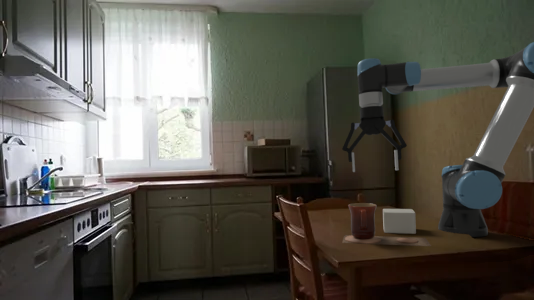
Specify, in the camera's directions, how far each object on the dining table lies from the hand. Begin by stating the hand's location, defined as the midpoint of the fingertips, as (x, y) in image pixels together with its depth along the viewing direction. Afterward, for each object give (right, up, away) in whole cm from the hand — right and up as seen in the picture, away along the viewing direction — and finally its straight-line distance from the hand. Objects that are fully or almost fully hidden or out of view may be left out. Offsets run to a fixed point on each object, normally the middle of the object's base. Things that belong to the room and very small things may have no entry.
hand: (375, 171), depth 122 cm
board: (+1, -22, -8) cm, 23 cm away
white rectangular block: (+10, -22, +7) cm, 25 cm away
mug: (-5, -21, -6) cm, 22 cm away
